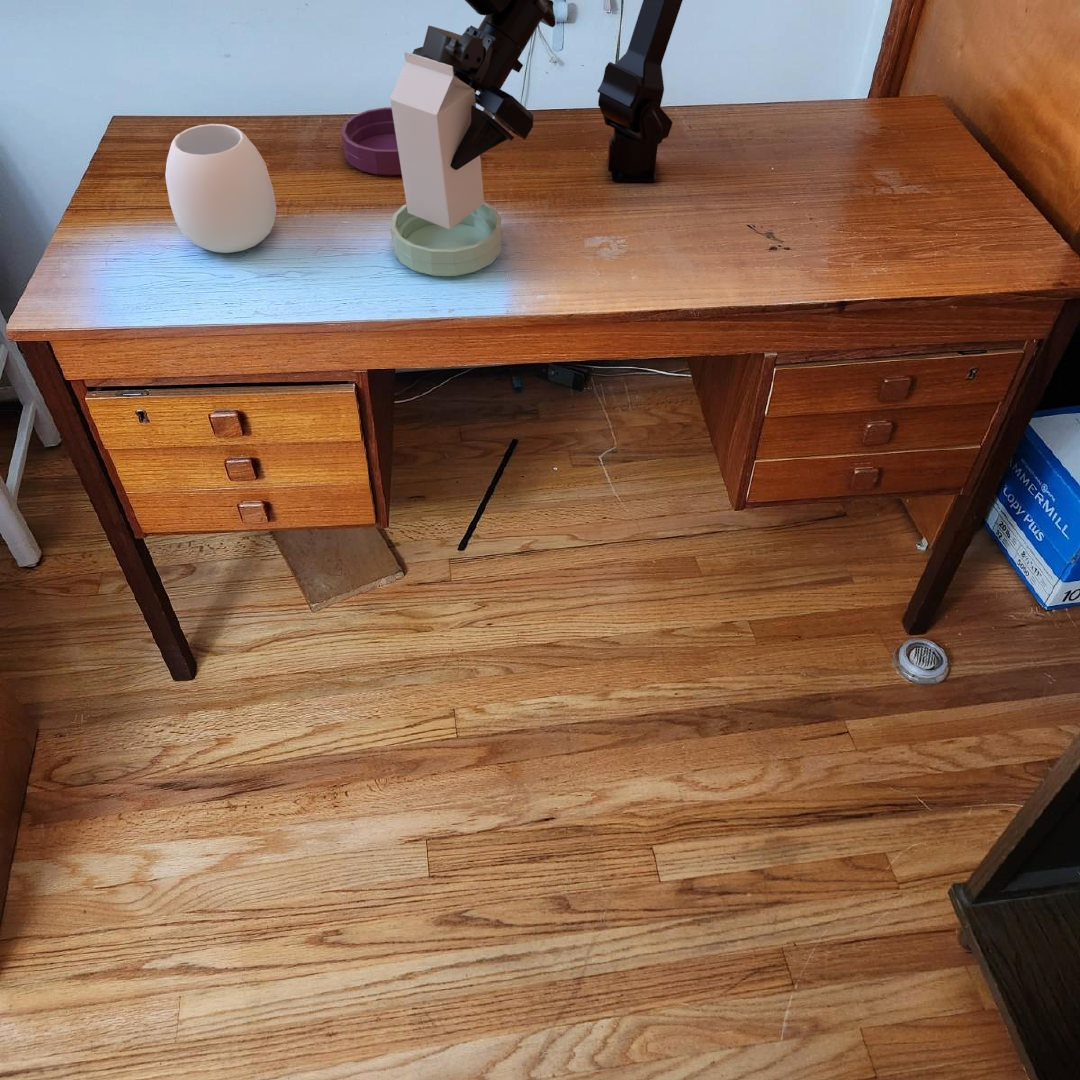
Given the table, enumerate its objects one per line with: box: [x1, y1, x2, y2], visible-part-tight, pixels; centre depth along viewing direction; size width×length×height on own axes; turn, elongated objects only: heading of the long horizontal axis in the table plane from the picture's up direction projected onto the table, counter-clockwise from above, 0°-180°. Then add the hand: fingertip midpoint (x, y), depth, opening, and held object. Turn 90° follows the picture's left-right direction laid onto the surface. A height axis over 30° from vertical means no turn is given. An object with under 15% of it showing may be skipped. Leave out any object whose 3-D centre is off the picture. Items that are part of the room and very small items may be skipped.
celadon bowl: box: [390, 201, 502, 277], centre depth 126 cm, size 14×14×4 cm
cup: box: [164, 123, 278, 254], centre depth 123 cm, size 13×13×14 cm
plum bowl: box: [340, 106, 402, 177], centre depth 143 cm, size 14×14×4 cm
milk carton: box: [389, 51, 485, 229], centre depth 116 cm, size 7×7×19 cm
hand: (432, 155), depth 117 cm, fingers closed on milk carton, 8 cm apart
